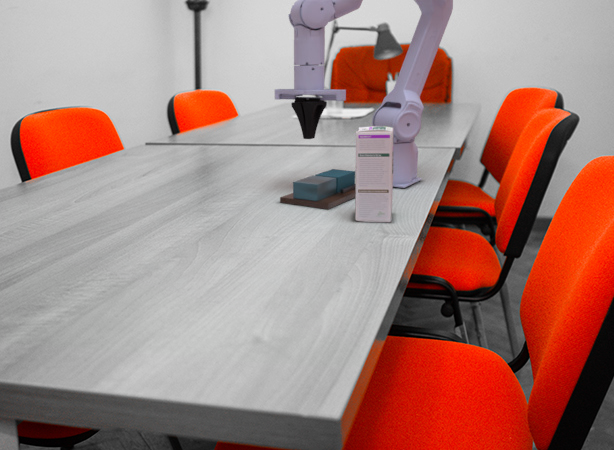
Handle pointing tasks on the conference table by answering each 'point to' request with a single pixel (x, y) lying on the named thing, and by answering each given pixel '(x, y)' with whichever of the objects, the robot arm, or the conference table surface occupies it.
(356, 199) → the syrup box
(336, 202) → the assembly board
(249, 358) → the conference table surface
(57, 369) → the conference table surface
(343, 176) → the loose pad
